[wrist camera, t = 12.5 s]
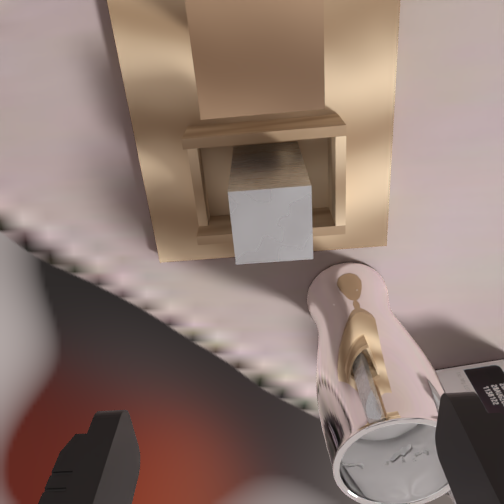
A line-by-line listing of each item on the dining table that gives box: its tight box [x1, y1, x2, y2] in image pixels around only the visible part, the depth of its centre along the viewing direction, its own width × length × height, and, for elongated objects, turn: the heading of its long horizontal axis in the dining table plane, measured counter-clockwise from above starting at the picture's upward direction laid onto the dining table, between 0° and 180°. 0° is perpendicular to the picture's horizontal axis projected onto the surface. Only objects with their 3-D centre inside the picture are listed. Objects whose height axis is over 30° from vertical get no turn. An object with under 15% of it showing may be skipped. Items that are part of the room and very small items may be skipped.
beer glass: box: [307, 262, 451, 504], centre depth 29 cm, size 7×7×15 cm
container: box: [435, 359, 504, 504], centre depth 35 cm, size 8×8×13 cm
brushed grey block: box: [228, 141, 313, 265], centre depth 27 cm, size 4×4×8 cm
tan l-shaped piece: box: [107, 0, 400, 263], centre depth 24 cm, size 17×16×14 cm
